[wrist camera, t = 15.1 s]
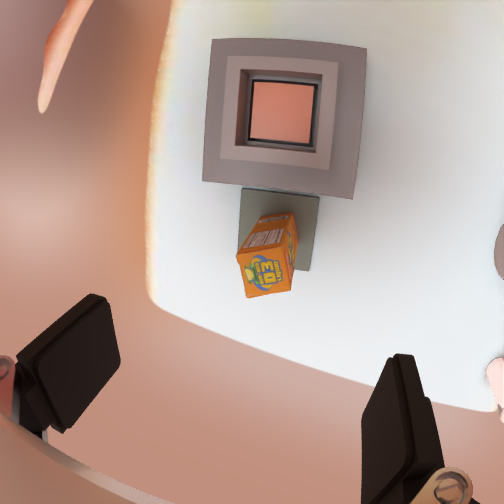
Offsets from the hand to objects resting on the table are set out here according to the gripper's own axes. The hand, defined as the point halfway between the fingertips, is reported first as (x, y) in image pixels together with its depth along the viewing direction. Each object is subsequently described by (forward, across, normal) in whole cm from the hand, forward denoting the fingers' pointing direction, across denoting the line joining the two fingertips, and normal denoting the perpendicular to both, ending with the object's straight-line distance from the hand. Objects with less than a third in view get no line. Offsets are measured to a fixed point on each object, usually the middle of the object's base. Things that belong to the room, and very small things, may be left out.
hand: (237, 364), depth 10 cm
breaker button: (+20, +2, -8) cm, 21 cm away
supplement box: (+20, +1, +2) cm, 21 cm away
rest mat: (+21, +2, +2) cm, 21 cm away
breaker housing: (+21, +2, -8) cm, 23 cm away
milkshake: (+21, -30, +16) cm, 39 cm away
